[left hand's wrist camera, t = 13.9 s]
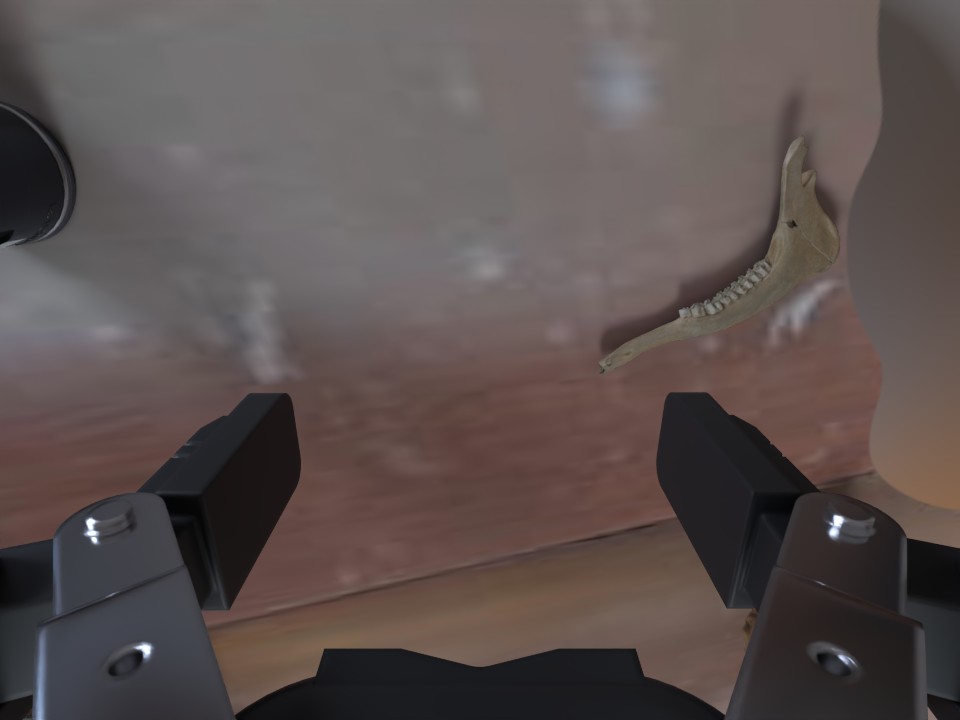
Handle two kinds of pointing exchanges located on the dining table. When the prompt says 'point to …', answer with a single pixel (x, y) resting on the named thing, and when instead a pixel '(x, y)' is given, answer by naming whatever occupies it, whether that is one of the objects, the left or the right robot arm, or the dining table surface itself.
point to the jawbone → (758, 266)
